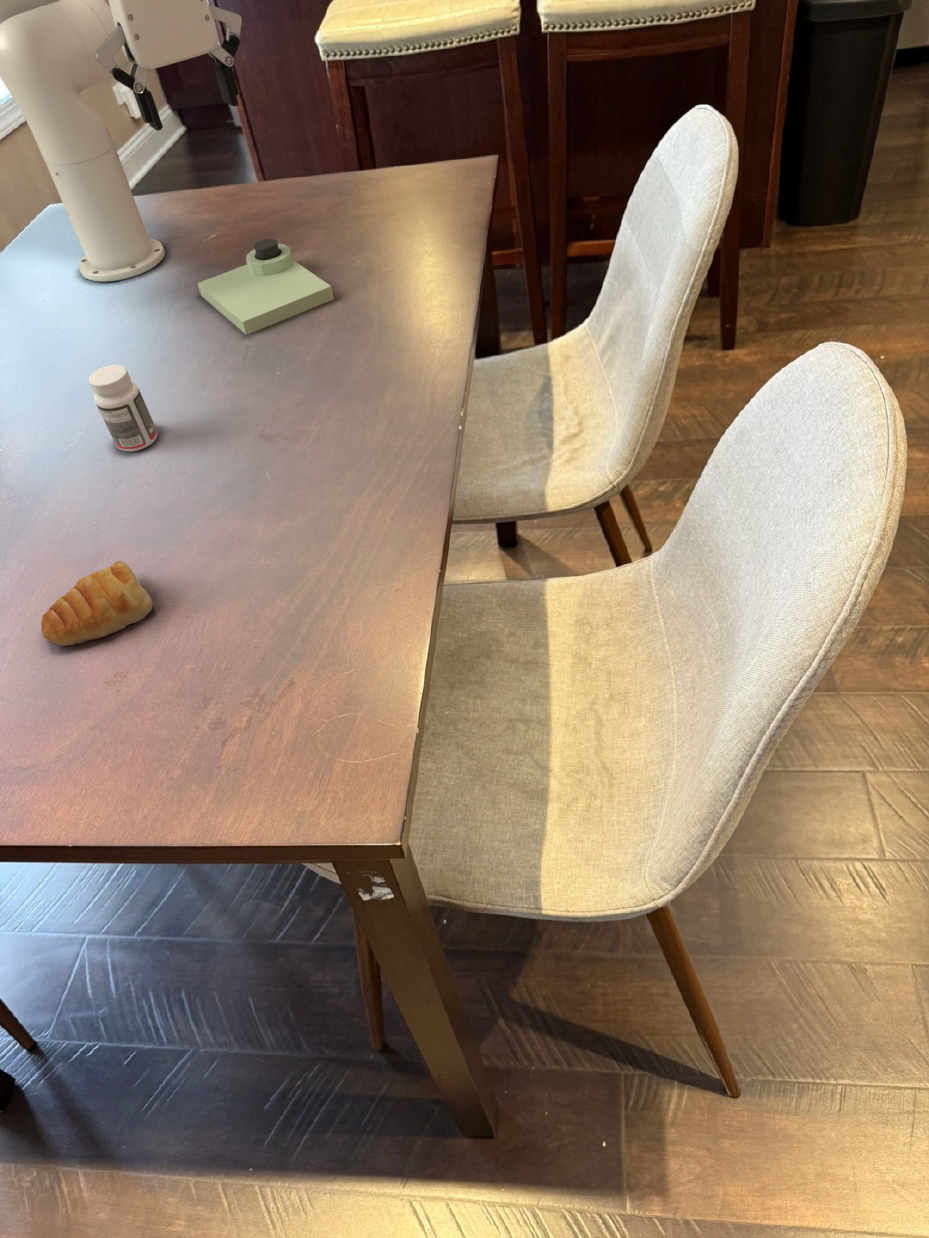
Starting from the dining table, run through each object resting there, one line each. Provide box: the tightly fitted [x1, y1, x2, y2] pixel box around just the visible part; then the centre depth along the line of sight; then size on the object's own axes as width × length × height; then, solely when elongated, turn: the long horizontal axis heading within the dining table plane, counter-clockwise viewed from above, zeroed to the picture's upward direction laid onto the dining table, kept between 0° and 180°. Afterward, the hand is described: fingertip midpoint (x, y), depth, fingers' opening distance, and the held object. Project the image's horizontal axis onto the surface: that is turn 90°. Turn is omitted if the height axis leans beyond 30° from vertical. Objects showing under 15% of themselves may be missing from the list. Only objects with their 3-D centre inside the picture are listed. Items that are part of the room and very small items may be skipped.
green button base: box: [196, 243, 335, 336], centre depth 116 cm, size 15×13×4 cm
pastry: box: [40, 560, 153, 646], centre depth 76 cm, size 9×7×4 cm
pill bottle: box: [88, 364, 158, 453], centre depth 94 cm, size 5×5×8 cm
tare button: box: [253, 238, 280, 260], centre depth 118 cm, size 3×3×2 cm
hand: (194, 116), depth 103 cm, fingers open, 9 cm apart
